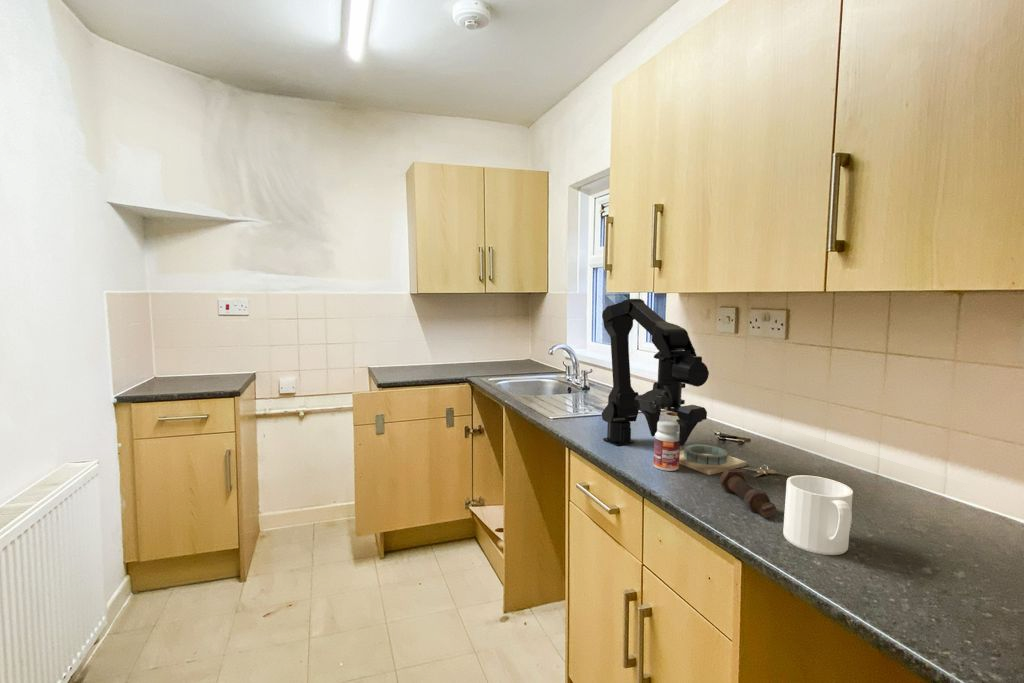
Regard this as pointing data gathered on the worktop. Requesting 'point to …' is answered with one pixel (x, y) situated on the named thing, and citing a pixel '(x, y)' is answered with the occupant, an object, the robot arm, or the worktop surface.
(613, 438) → the robot arm
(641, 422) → the worktop surface
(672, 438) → the pill bottle
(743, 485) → the bolt
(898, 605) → the worktop surface
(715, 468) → the socket
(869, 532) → the worktop surface
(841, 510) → the mug
